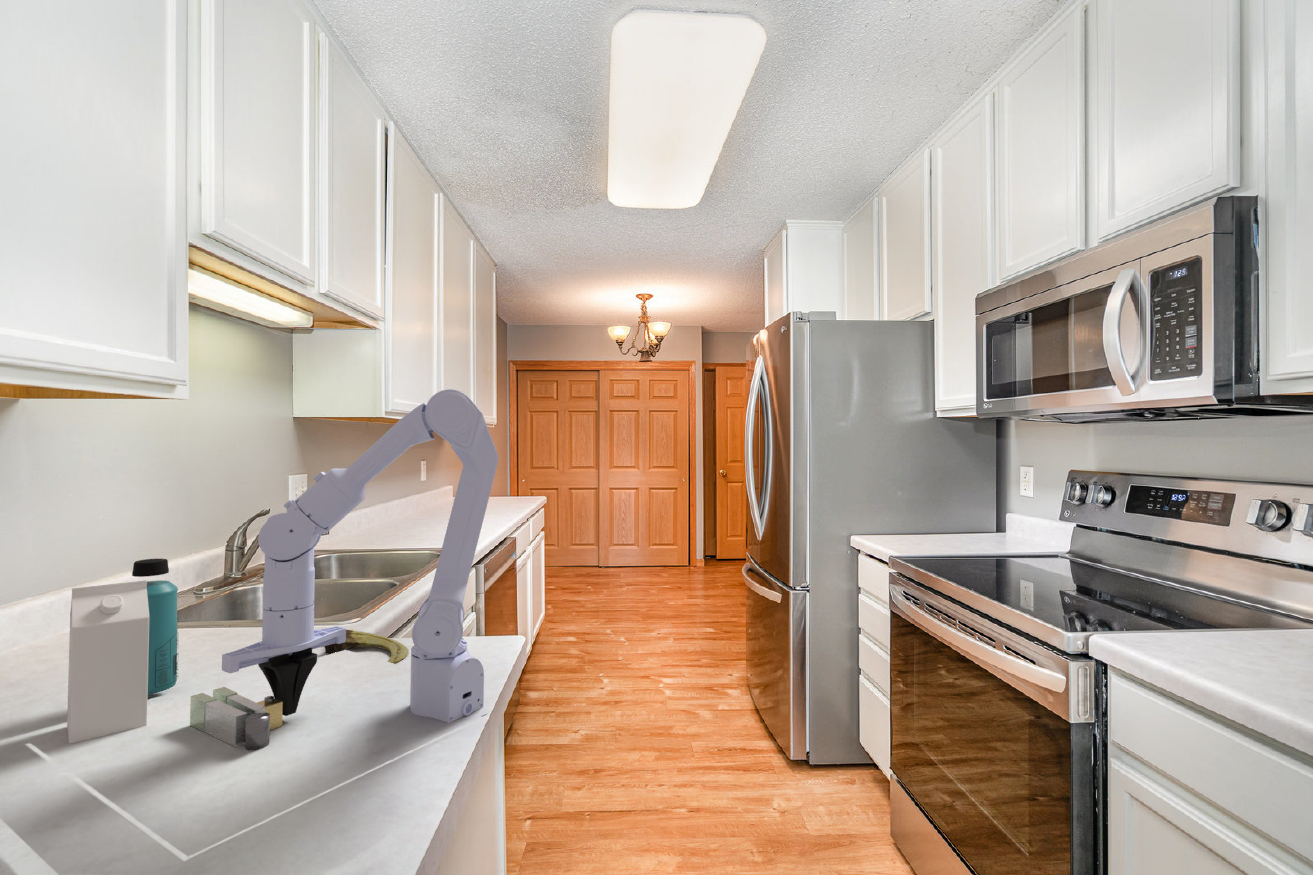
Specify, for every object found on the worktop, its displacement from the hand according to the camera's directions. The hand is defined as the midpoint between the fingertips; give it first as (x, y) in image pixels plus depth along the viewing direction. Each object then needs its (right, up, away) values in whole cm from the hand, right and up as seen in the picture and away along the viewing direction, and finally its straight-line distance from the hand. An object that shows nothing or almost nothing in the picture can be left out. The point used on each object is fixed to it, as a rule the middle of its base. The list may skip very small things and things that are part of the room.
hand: (286, 712), depth 80 cm
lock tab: (-1, -1, -2) cm, 2 cm away
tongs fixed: (-4, -1, -4) cm, 6 cm away
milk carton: (-21, -2, -2) cm, 22 cm away
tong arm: (-5, -1, -2) cm, 5 cm away
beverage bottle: (-26, -3, +10) cm, 28 cm away
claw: (-4, -4, +32) cm, 33 cm away
